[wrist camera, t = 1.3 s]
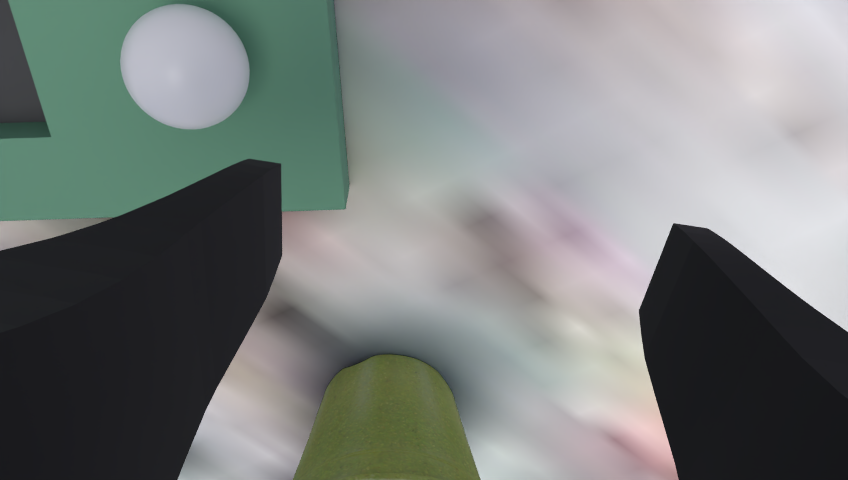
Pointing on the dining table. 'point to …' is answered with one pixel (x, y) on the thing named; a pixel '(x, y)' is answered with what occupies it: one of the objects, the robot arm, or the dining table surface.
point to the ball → (184, 66)
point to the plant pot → (387, 426)
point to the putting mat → (143, 135)
